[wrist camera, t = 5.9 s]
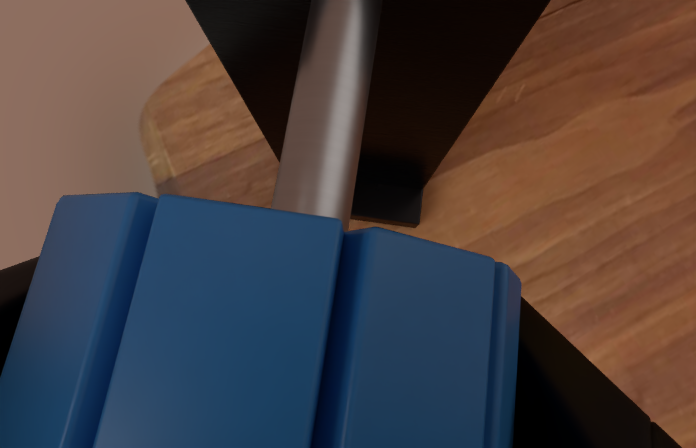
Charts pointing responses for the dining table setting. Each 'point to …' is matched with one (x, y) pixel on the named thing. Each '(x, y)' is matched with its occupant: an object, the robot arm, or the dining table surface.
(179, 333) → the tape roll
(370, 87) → the hook
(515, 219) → the dining table surface
